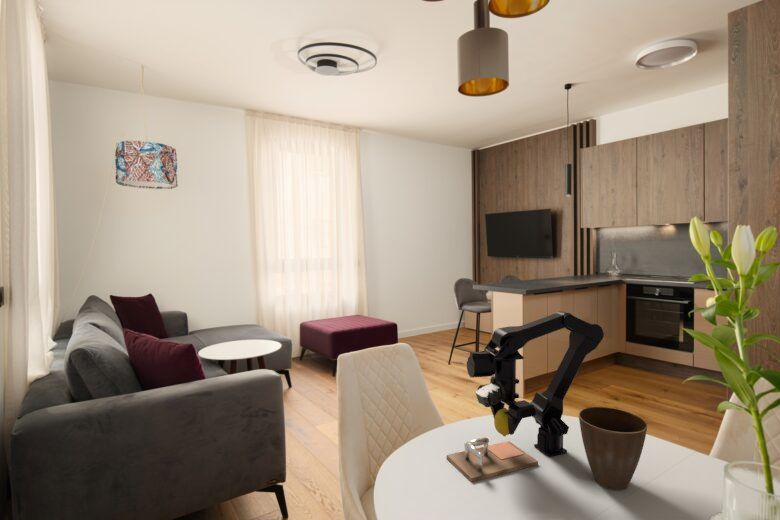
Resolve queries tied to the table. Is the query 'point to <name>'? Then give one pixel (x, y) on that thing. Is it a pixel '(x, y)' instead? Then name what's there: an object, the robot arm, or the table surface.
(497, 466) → the walnut board
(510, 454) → the terracotta tile
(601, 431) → the plant pot
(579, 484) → the table surface
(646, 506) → the table surface
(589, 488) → the table surface
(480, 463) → the bent wire
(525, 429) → the table surface
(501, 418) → the lemon
